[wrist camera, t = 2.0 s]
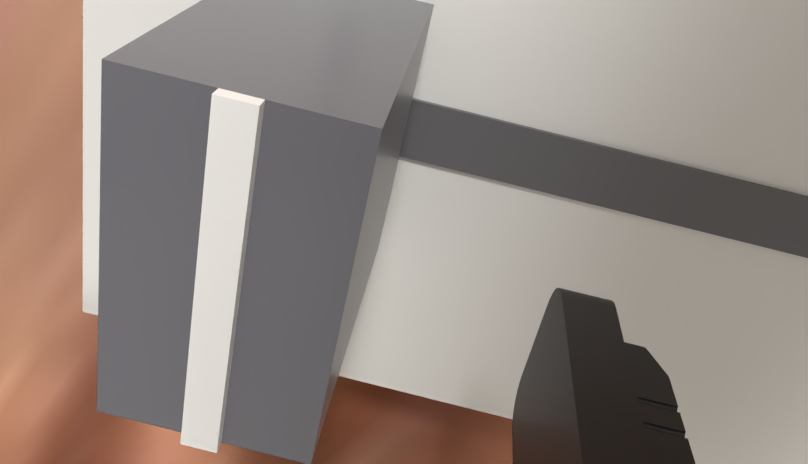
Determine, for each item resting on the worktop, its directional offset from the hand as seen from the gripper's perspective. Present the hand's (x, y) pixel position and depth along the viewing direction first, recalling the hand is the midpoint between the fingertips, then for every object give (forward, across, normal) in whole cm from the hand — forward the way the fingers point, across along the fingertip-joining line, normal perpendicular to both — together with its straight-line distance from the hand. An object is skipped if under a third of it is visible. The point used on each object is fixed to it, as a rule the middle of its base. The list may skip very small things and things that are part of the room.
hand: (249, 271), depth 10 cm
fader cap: (+5, 0, 0) cm, 5 cm away
